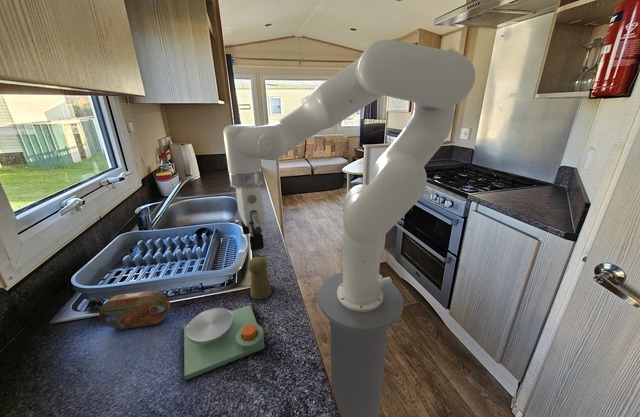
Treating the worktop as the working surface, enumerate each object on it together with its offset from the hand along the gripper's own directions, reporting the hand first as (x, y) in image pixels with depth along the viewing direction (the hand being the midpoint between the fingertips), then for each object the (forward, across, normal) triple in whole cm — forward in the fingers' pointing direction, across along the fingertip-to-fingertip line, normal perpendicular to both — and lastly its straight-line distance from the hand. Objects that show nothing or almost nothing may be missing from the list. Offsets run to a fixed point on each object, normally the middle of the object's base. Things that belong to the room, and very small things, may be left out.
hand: (252, 240), depth 69 cm
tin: (+18, +3, +29) cm, 34 cm away
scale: (+17, -12, +11) cm, 24 cm away
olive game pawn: (+17, 0, -1) cm, 17 cm away
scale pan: (+14, -10, +13) cm, 22 cm away
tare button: (+14, -17, +6) cm, 23 cm away
